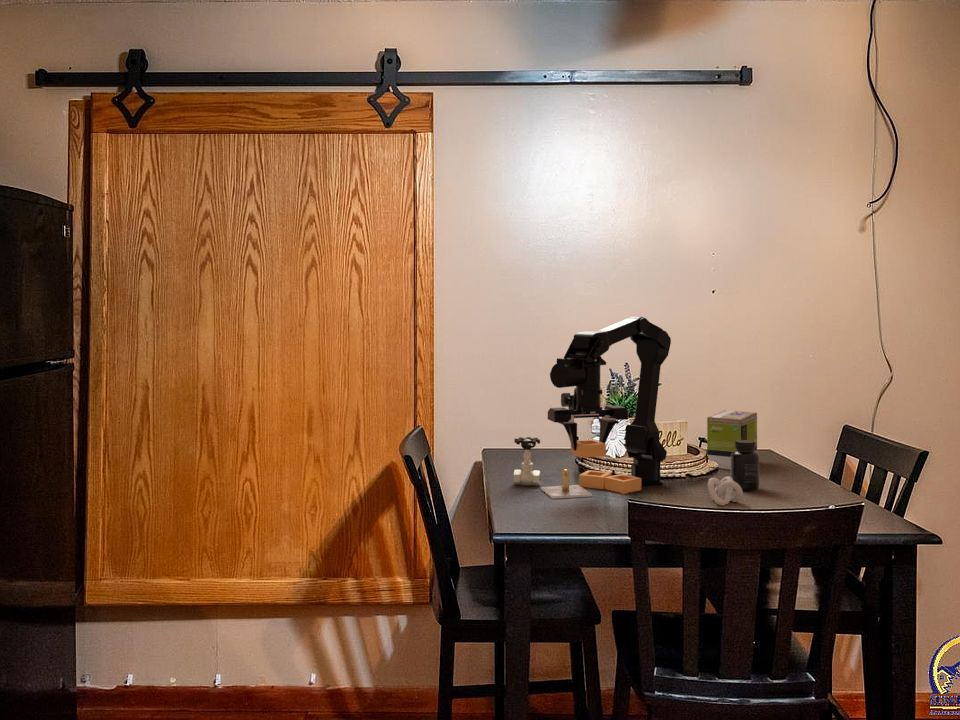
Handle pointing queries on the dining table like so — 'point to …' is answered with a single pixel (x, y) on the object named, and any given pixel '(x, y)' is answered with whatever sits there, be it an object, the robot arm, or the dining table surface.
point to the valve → (527, 464)
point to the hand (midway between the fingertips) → (587, 449)
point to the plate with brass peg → (565, 489)
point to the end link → (589, 449)
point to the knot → (724, 490)
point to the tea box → (729, 434)
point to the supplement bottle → (745, 465)
